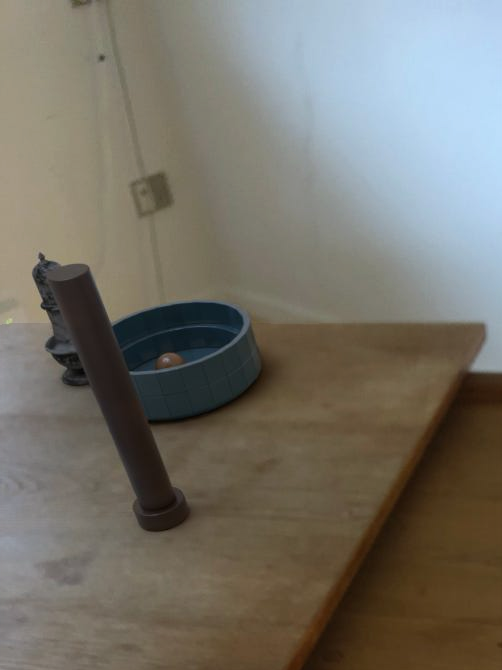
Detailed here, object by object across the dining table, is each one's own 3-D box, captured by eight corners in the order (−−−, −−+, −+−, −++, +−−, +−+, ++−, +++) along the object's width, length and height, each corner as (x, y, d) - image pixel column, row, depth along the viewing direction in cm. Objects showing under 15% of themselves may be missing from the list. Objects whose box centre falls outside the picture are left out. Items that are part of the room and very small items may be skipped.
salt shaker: (130, 362, 97) (85, 242, 88) (91, 390, 93) (40, 267, 85) (86, 355, 99) (38, 238, 91) (46, 383, 95) (-8, 262, 87)
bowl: (82, 430, 87) (61, 380, 84) (131, 353, 98) (114, 306, 95) (245, 418, 86) (229, 367, 82) (276, 341, 97) (263, 293, 93)
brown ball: (147, 351, 88) (152, 372, 91) (160, 375, 87) (165, 396, 90) (178, 341, 89) (182, 362, 92) (191, 365, 88) (195, 385, 91)
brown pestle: (132, 532, 74) (26, 286, 61) (146, 503, 77) (49, 262, 64) (182, 529, 74) (86, 281, 61) (194, 499, 77) (106, 256, 63)
